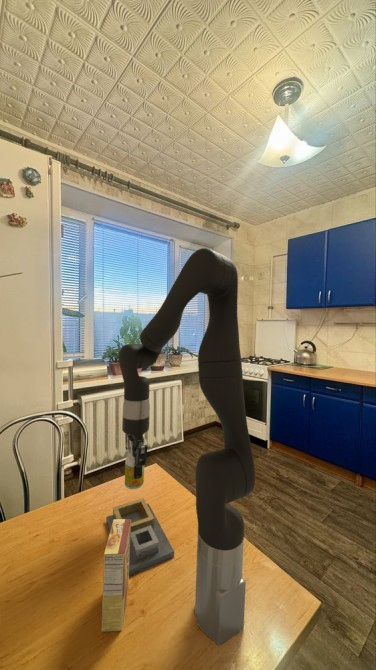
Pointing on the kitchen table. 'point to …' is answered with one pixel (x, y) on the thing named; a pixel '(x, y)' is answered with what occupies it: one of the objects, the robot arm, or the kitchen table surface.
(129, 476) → the supplement bottle
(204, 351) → the robot arm
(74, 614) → the kitchen table surface
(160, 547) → the fitting plate
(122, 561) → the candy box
